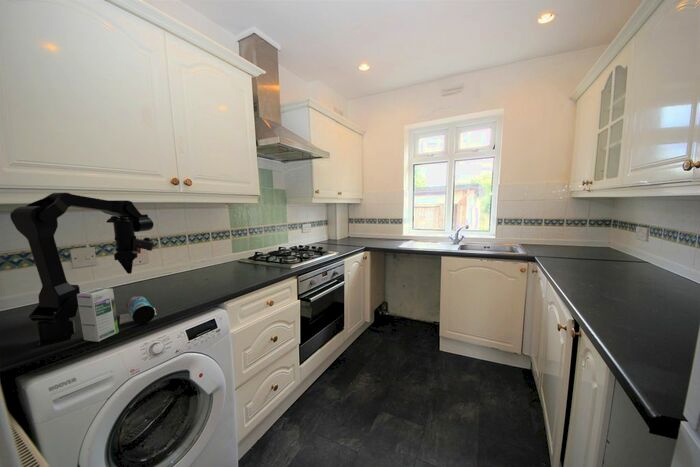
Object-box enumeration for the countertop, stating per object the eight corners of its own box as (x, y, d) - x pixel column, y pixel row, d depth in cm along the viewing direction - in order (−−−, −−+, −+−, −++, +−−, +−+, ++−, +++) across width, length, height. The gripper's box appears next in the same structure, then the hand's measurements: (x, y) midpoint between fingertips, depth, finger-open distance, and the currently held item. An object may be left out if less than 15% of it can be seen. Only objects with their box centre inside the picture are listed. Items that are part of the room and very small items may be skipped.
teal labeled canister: (143, 292, 97) (152, 302, 87) (148, 306, 99) (157, 318, 89) (123, 299, 93) (130, 311, 83) (128, 314, 95) (136, 327, 85)
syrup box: (98, 342, 75) (92, 294, 74) (82, 340, 77) (76, 293, 75) (119, 332, 81) (113, 287, 79) (104, 331, 82) (98, 286, 80)
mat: (119, 323, 87) (119, 322, 87) (120, 316, 93) (120, 315, 93) (156, 315, 93) (156, 314, 93) (154, 308, 99) (154, 307, 99)
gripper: (151, 234, 96) (156, 274, 98) (150, 229, 110) (154, 265, 112) (111, 237, 89) (117, 280, 91) (115, 232, 104) (120, 270, 106)
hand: (129, 273), depth 100 cm, fingers closed
